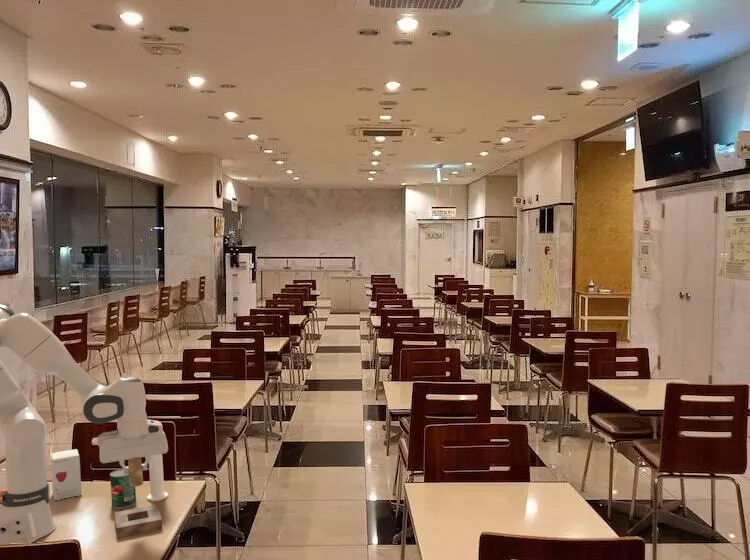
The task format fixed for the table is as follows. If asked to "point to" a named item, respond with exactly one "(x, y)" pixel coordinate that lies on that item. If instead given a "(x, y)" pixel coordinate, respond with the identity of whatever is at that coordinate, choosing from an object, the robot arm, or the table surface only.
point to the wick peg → (135, 471)
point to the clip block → (138, 520)
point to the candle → (156, 479)
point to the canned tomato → (121, 489)
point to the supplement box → (66, 474)
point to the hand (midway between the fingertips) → (135, 471)
